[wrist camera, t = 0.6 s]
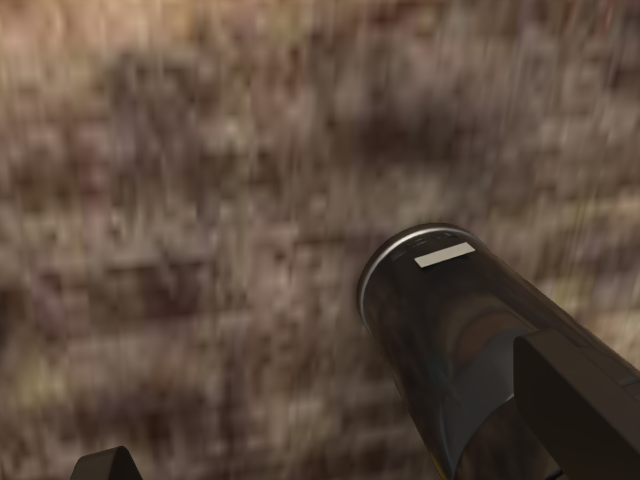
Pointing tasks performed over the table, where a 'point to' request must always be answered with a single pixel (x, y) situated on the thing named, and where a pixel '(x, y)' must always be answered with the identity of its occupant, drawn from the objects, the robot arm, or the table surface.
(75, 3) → the table surface
